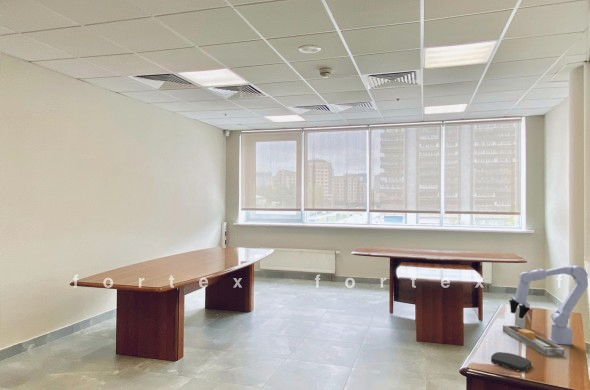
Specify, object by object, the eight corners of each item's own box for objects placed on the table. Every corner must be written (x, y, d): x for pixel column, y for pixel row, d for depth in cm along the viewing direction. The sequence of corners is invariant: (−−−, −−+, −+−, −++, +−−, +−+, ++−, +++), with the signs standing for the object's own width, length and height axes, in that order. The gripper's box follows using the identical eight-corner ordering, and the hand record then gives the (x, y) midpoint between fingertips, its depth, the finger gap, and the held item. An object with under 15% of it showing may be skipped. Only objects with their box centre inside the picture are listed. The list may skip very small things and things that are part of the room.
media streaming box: (500, 355, 193) (500, 349, 193) (533, 365, 182) (533, 359, 182) (488, 362, 183) (488, 356, 183) (522, 373, 172) (523, 367, 172)
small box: (524, 331, 235) (526, 309, 235) (514, 328, 240) (515, 306, 240) (531, 329, 239) (532, 308, 240) (521, 326, 245) (522, 305, 245)
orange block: (528, 334, 221) (528, 329, 221) (535, 338, 215) (535, 333, 215) (517, 334, 221) (517, 329, 221) (524, 338, 215) (524, 332, 215)
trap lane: (519, 332, 232) (519, 326, 232) (563, 356, 196) (564, 349, 197) (502, 331, 232) (503, 325, 232) (544, 355, 196) (545, 348, 196)
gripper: (508, 287, 233) (502, 309, 234) (523, 295, 218) (518, 318, 219) (519, 289, 233) (514, 311, 234) (535, 297, 219) (529, 321, 219)
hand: (516, 315), depth 227 cm, fingers open, 7 cm apart
